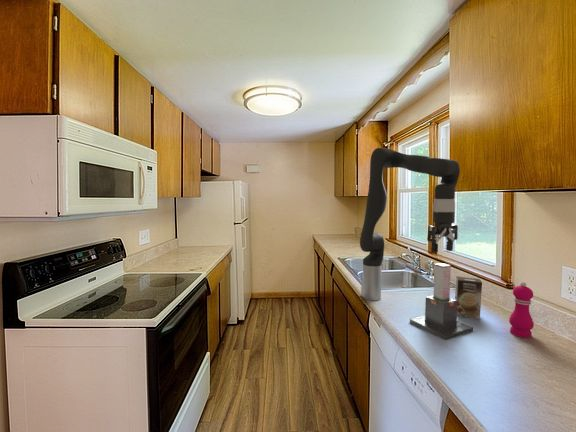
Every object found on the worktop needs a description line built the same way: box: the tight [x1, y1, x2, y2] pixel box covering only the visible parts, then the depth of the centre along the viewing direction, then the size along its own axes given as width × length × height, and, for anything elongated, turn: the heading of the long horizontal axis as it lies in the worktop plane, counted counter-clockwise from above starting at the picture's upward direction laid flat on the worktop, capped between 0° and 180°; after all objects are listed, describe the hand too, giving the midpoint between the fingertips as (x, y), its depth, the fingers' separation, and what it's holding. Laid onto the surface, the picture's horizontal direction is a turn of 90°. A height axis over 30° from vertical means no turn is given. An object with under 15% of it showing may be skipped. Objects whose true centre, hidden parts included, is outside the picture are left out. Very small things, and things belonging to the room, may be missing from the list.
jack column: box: [433, 262, 452, 301], centre depth 114 cm, size 4×4×18 cm
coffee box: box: [454, 276, 483, 320], centre depth 126 cm, size 9×6×16 cm
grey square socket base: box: [409, 294, 474, 341], centre depth 115 cm, size 16×16×12 cm
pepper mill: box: [508, 281, 535, 339], centre depth 109 cm, size 7×7×20 cm
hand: (442, 251), depth 114 cm, fingers open, 8 cm apart
